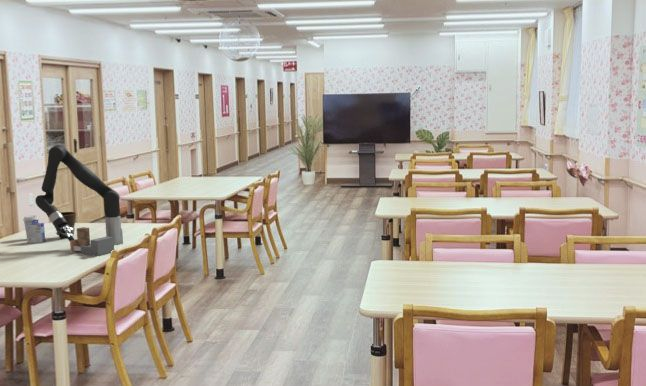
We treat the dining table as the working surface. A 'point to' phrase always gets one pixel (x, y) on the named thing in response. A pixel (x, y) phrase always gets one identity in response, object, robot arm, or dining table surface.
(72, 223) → the plant pot
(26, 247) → the dining table surface
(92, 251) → the block
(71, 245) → the dock tray
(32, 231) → the ink cartridge box
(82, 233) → the walnut block
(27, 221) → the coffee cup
